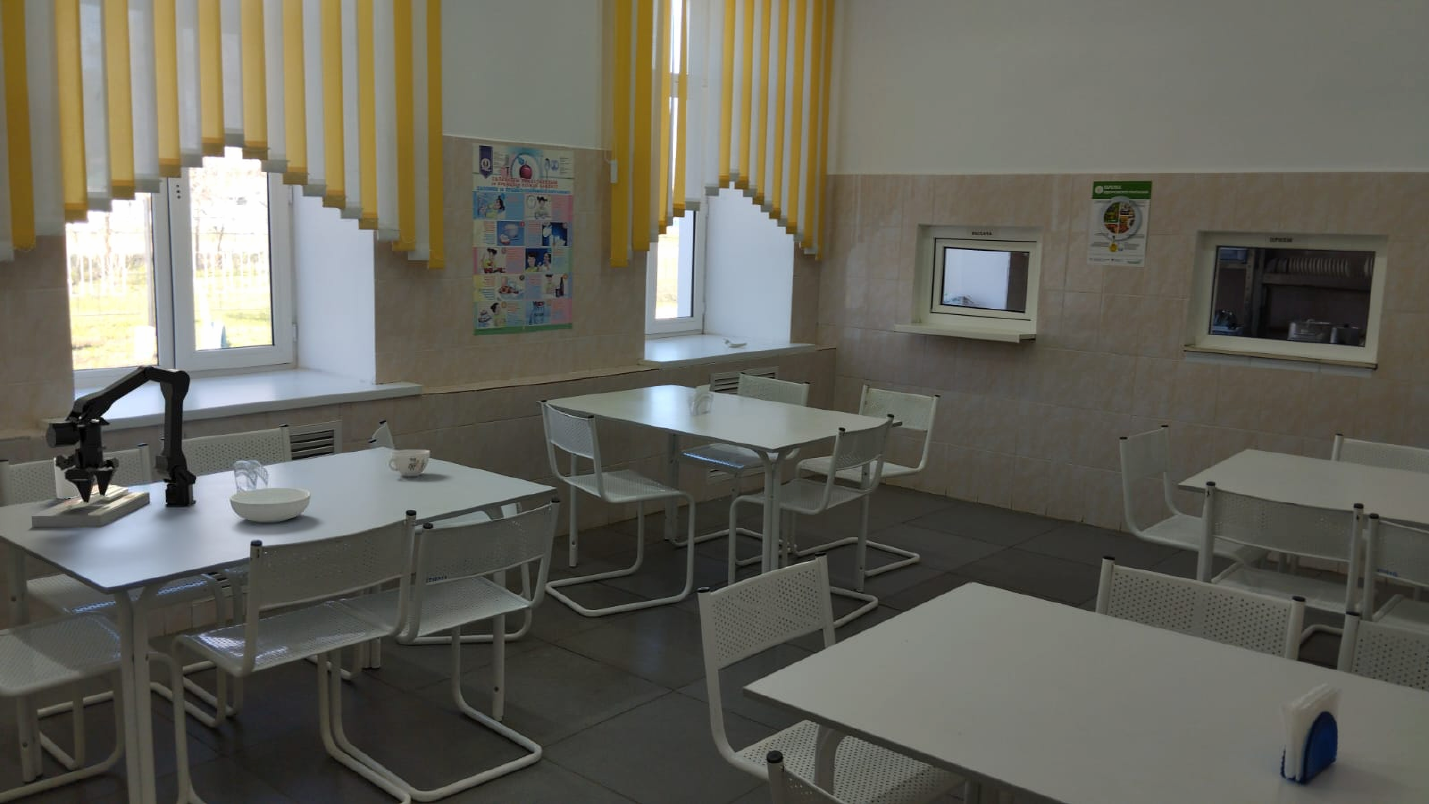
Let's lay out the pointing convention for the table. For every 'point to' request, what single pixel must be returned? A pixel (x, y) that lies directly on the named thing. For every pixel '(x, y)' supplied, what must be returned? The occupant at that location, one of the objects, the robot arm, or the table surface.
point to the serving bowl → (270, 504)
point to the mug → (64, 484)
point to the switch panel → (92, 512)
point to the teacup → (409, 461)
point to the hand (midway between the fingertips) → (94, 499)
